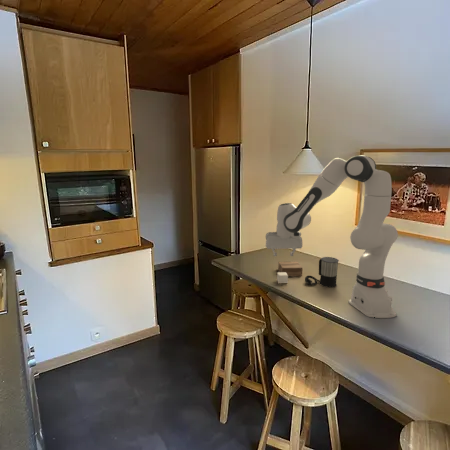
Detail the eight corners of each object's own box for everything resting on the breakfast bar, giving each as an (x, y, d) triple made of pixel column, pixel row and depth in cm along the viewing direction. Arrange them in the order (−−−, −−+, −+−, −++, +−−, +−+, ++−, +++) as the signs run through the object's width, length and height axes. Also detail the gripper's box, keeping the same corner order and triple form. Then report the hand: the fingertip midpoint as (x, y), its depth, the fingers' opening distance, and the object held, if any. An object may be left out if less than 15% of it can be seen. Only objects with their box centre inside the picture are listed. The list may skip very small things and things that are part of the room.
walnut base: (302, 275, 190) (302, 267, 189) (282, 276, 189) (282, 268, 188) (296, 268, 201) (297, 261, 200) (278, 269, 201) (278, 261, 200)
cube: (287, 283, 178) (287, 275, 177) (278, 283, 178) (279, 275, 177) (285, 280, 183) (285, 272, 182) (277, 280, 183) (277, 272, 182)
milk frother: (340, 285, 175) (342, 260, 172) (320, 291, 167) (322, 265, 164) (320, 277, 187) (322, 253, 184) (301, 282, 179) (302, 257, 176)
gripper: (266, 233, 171) (265, 257, 174) (304, 233, 172) (302, 257, 175) (264, 230, 177) (264, 254, 180) (300, 230, 178) (299, 254, 181)
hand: (283, 255), depth 177 cm, fingers open, 8 cm apart
